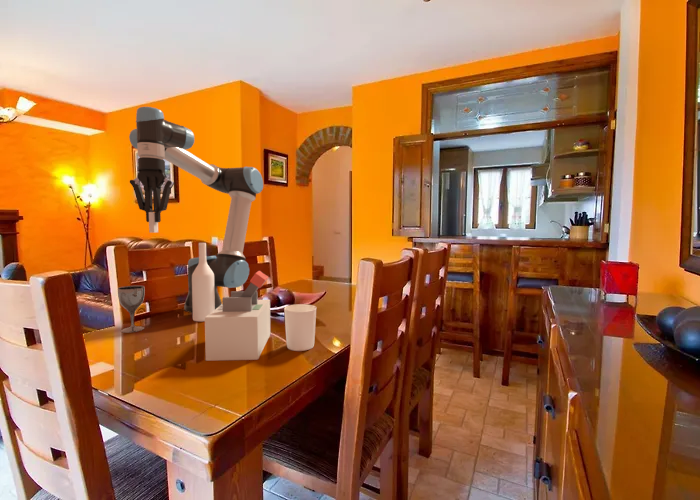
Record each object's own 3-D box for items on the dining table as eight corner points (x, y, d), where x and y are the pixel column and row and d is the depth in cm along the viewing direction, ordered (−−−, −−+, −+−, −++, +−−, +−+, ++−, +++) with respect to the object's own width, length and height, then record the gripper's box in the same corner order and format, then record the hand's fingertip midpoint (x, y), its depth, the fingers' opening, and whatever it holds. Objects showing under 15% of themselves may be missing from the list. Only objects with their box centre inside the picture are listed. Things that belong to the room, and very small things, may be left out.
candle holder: (310, 353, 99) (310, 312, 99) (279, 350, 101) (278, 310, 100) (320, 342, 109) (320, 305, 108) (291, 339, 111) (291, 303, 110)
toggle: (238, 298, 107) (259, 270, 107) (248, 305, 107) (268, 277, 107) (233, 303, 101) (255, 273, 101) (243, 310, 101) (265, 280, 101)
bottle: (194, 316, 138) (192, 242, 135) (215, 315, 140) (214, 242, 138) (191, 322, 130) (189, 243, 128) (214, 320, 132) (212, 243, 130)
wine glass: (114, 330, 119) (112, 288, 118) (137, 325, 126) (136, 284, 125) (127, 334, 115) (125, 290, 114) (150, 328, 122) (149, 286, 121)
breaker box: (228, 335, 115) (227, 288, 114) (270, 334, 116) (269, 287, 115) (205, 360, 93) (204, 302, 92) (257, 359, 94) (257, 302, 93)
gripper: (123, 155, 105) (126, 232, 107) (167, 156, 106) (169, 232, 108) (136, 160, 113) (139, 232, 114) (177, 161, 114) (179, 232, 115)
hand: (153, 232), depth 111 cm, fingers closed
